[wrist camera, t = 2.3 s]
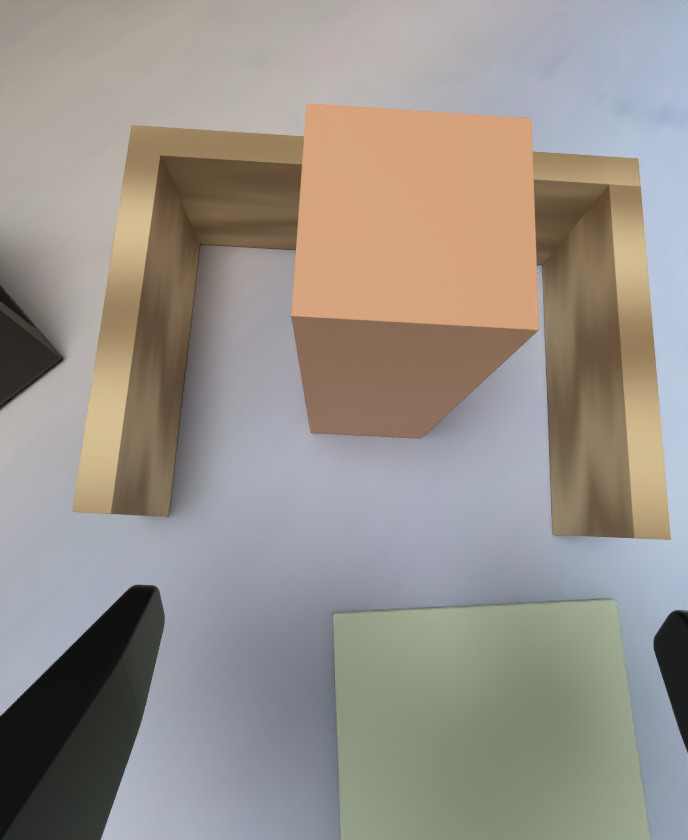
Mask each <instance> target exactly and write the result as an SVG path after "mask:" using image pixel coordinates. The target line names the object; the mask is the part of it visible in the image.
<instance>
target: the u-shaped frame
mask: <svg viewBox="0 0 688 840" xmlns="http://www.w3.org/2000/svg"><path fill="white" fill-rule="evenodd" d="M303 146H304V137H303V136H288V135H273V134H257V133H242V132H227V131H212V130H197V129H182V128H166V127H151V126H136V125H132V126H131V132H130V139H129V145H128V152H127V158H126V165H125V171H124V178H123V184H122V191H121V197H120V204H119V210H118V217H117V223H116V230H115V236H114V243H113V249H112V256H111V262H110V269H109V275H108V282H107V288H106V295H105V301H104V308H103V314H102V321H101V327H100V334H99V340H98V347H97V353H96V360H95V366H94V373H93V379H92V386H91V392H90V399H89V405H88V412H87V418H86V425H85V431H84V438H83V444H82V451H81V457H80V464H79V470H78V477H77V483H76V490H75V496H74V503H73V509H72V512H84V513H104V514H123V515H143V516H164V517H169V509H170V500H171V492H172V483H173V474H174V465H175V457H176V448H177V439H178V431H179V422H180V413H181V405H182V396H183V387H184V378H185V370H186V361H187V352H188V344H189V335H190V326H191V318H192V309H193V300H194V291H195V283H196V274H197V265H198V257H199V248H200V244H207V245H224V246H240V247H257V248H273V249H290V250H296V243H297V229H298V216H299V202H300V188H301V174H302V160H303ZM533 178H534V206H535V233H536V261H537V264H539V265H542V268H543V294H544V320H545V346H546V372H547V398H548V424H549V450H550V476H551V501H552V527H553V535H572V536H595V537H618V538H642V539H665V540H671V537H670V525H669V514H668V502H667V490H666V478H665V467H664V455H663V443H662V431H661V420H660V408H659V396H658V385H657V373H656V361H655V349H654V338H653V326H652V314H651V303H650V291H649V279H648V267H647V256H646V244H645V232H644V220H643V209H642V197H641V185H640V174H639V162H638V159H637V158H622V157H606V156H591V155H576V154H561V153H546V152H533Z"/></svg>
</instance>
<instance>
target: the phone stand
mask: <svg viewBox="0 0 688 840" xmlns="http://www.w3.org/2000/svg"><path fill="white" fill-rule="evenodd" d="M60 359H62V356H61V355H60V354H59V353H58V352H57V350H56V349H55V348H54V347H53V346H52V345H51V343H50V342H49V341H48V340H47V339H46V338H45V336H44V335H43V334H42V333H41V332H40V331H39V329H38V328H37V327H36V326H35V325H34V324H33V322H32V321H31V320H30V319H29V318H28V317H27V315H26V314H25V313H24V312H23V311H22V310H21V308H20V307H19V306H18V305H17V304H16V303H15V301H14V300H13V299H12V298H11V297H10V296H9V295H8V294H7V293H6V292H5V291H4V289H3V287H2V286H1V285H0V406H1V405H2V404H3V403H5V402H6V401H7V400H9V399H10V398H11V397H13V396H14V395H15V394H16V393H18V392H19V391H20V390H22V389H23V388H24V387H25V386H27V385H28V384H29V383H31V382H32V381H33V380H34V379H36V378H37V377H38V376H40V375H41V374H42V373H44V372H45V371H46V370H47V369H49V368H50V367H51V366H53V365H54V364H55V363H56V362H58V361H59V360H60Z"/></svg>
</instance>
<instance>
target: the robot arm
mask: <svg viewBox="0 0 688 840" xmlns="http://www.w3.org/2000/svg"><path fill="white" fill-rule="evenodd" d="M164 622H165V615H164V610H163V605H162V601H161V596H160V592H159V589H158V588H157V587H156V586H153V585H134V586H132V587H130V588H129V589H128V590H127V591H126V592H125V593H124V594H123V595H122V596H121V597H120V598H119V599H118V600H117V601H116V602H115V603H114V604H113V605H112V606H111V607H110V608H109V609H108V610H107V611H106V612H105V613H104V614H103V615H102V616H101V617H100V618H99V619H98V620H97V621H96V622H95V623H94V624H93V625H92V626H91V627H90V628H89V629H88V630H87V631H86V632H85V633H84V634H83V635H82V636H81V637H80V638H79V639H78V640H77V641H76V642H75V643H74V644H73V645H72V646H71V647H70V648H69V649H68V650H67V651H66V652H65V653H64V654H63V655H62V656H61V657H60V658H59V659H58V660H57V661H56V662H55V663H54V664H53V665H52V666H50V667H49V668H48V669H47V670H46V671H45V672H44V673H43V674H42V675H41V676H40V677H39V678H38V679H37V680H36V681H35V682H34V683H33V684H32V685H31V686H30V687H29V688H28V689H27V690H26V691H25V692H24V693H23V694H22V695H21V696H20V697H19V698H18V699H17V700H16V701H15V702H14V703H13V704H12V705H11V706H10V707H9V708H8V709H7V710H6V711H5V712H4V713H3V714H2V715H1V716H0V840H101V837H102V834H103V832H104V829H105V826H106V823H107V820H108V817H109V814H110V811H111V808H112V806H113V803H114V800H115V797H116V794H117V791H118V788H119V785H120V783H121V780H122V777H123V774H124V771H125V768H126V765H127V762H128V760H129V757H130V754H131V751H132V748H133V745H134V742H135V739H136V736H137V733H138V730H139V727H140V724H141V721H142V717H143V713H144V710H145V706H146V701H147V697H148V693H149V689H150V684H151V680H152V676H153V672H154V667H155V663H156V659H157V655H158V650H159V646H160V642H161V638H162V633H163V629H164ZM654 651H655V655H656V658H657V661H658V664H659V667H660V671H661V674H662V677H663V680H664V683H665V686H666V690H667V693H668V696H669V699H670V702H671V705H672V709H673V712H674V715H675V718H676V721H677V724H678V727H679V730H680V733H681V736H682V739H683V742H684V744H685V747H686V749H687V752H688V611H684V610H675V611H673V612H671V613H670V614H669V615H668V617H667V618H666V620H665V621H664V623H663V625H662V626H661V628H660V629H659V631H658V632H657V634H656V635H655V637H654Z"/></svg>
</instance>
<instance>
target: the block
mask: <svg viewBox="0 0 688 840" xmlns="http://www.w3.org/2000/svg"><path fill="white" fill-rule="evenodd" d="M291 317H292V323H293V329H294V335H295V341H296V347H297V353H298V359H299V365H300V371H301V377H302V384H303V390H304V396H305V402H306V408H307V414H308V420H309V426H310V432H311V433H324V434H344V435H363V436H383V437H402V438H422V437H423V436H424V435H425V434H426V433H427V432H428V431H429V430H430V429H432V428H433V427H434V426H435V425H436V424H437V423H438V422H439V421H440V420H441V419H442V418H444V417H445V416H446V415H447V414H448V413H449V412H450V411H451V410H452V409H453V408H454V407H456V406H457V405H458V404H459V403H460V402H461V401H462V400H463V399H464V398H465V397H466V396H468V395H469V394H470V393H471V392H472V391H473V390H474V389H475V388H476V387H477V386H478V385H480V384H481V383H482V382H483V381H484V380H485V379H486V378H487V377H488V376H489V375H490V374H492V373H493V372H494V371H495V370H496V369H497V368H498V367H499V366H500V365H501V364H502V363H504V362H505V361H506V360H507V359H508V358H509V357H510V356H511V355H512V354H513V353H514V352H516V351H517V350H518V349H519V348H520V347H521V346H522V345H523V344H524V343H525V342H526V341H528V340H529V339H530V338H531V337H532V336H533V335H534V334H535V333H536V332H537V331H538V330H539V316H538V288H537V261H536V233H535V206H534V178H533V150H532V123H531V118H516V117H501V116H486V115H471V114H456V113H441V112H426V111H412V110H397V109H382V108H367V107H352V106H337V105H322V104H308V103H307V104H306V118H305V132H304V146H303V160H302V174H301V188H300V202H299V216H298V229H297V243H296V257H295V271H294V285H293V299H292V313H291Z"/></svg>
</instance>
